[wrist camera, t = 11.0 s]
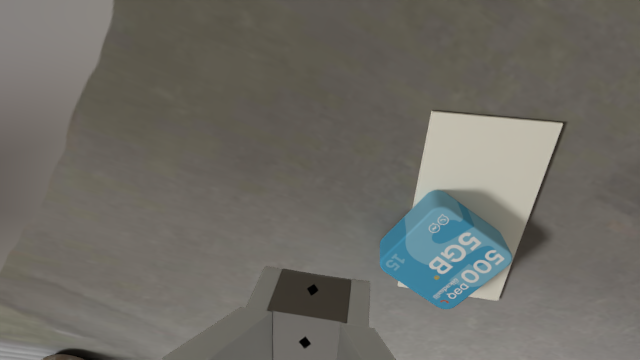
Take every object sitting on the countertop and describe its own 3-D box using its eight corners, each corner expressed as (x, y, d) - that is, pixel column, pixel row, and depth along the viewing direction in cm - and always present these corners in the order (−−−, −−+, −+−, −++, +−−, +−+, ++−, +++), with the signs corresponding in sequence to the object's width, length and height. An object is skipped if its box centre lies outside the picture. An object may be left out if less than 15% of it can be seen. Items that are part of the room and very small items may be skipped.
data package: (440, 202, 40) (519, 258, 42) (435, 184, 44) (507, 236, 46) (374, 265, 46) (446, 313, 47) (375, 245, 50) (441, 289, 51)
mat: (561, 122, 39) (563, 123, 39) (497, 298, 51) (497, 300, 50) (431, 110, 41) (432, 111, 41) (397, 283, 52) (397, 286, 52)
